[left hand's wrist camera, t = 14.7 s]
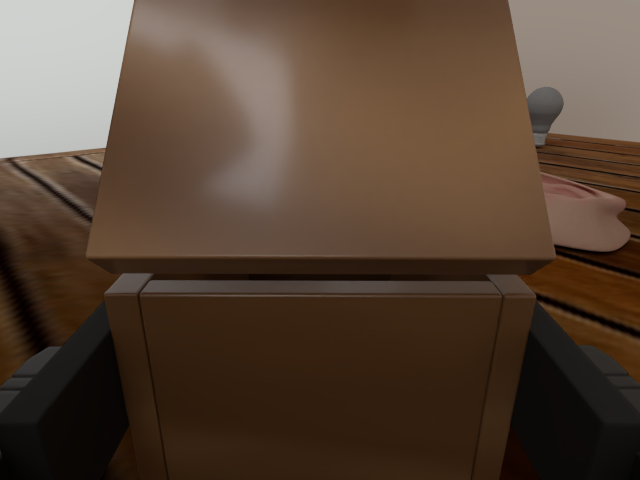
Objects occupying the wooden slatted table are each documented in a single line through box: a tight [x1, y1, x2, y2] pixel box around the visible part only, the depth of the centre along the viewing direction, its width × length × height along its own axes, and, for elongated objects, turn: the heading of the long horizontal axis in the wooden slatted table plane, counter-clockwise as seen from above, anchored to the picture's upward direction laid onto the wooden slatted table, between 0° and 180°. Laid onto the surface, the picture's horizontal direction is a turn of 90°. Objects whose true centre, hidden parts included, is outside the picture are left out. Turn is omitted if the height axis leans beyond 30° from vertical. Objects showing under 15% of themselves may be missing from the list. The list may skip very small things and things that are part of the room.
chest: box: [104, 273, 536, 480], centre depth 18 cm, size 15×9×9 cm, turn 0°
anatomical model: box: [540, 172, 631, 252], centre depth 40 cm, size 13×4×12 cm
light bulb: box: [527, 87, 563, 147], centre depth 78 cm, size 6×6×10 cm
